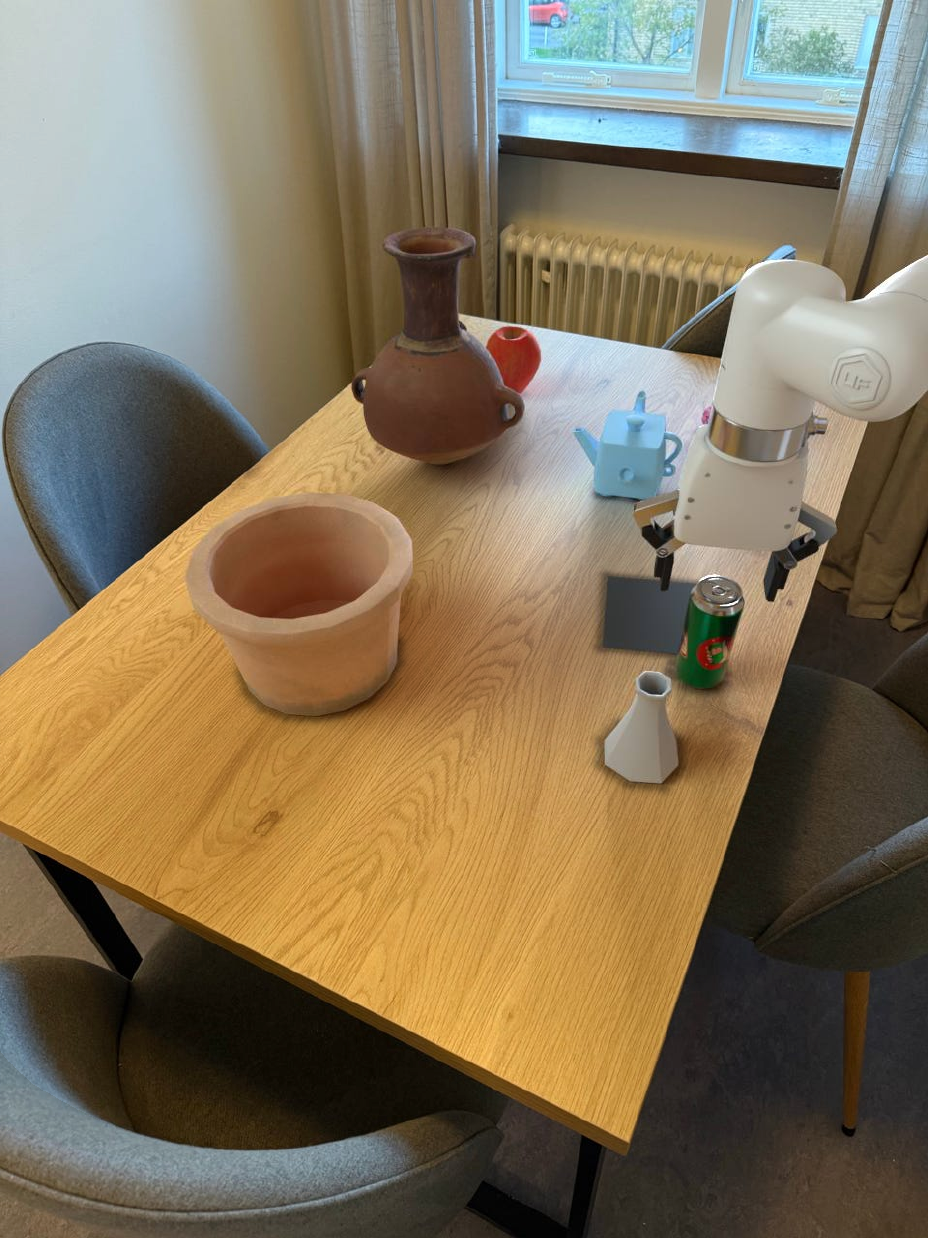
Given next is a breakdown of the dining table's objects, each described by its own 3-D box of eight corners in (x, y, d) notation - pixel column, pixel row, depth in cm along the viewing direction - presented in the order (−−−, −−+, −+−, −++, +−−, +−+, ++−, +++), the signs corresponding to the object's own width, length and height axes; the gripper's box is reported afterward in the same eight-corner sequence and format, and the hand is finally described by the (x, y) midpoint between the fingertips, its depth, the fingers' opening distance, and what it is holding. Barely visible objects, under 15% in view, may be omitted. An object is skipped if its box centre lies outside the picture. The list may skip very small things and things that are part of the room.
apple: (546, 386, 134) (549, 320, 126) (529, 411, 128) (530, 344, 121) (496, 378, 136) (496, 313, 129) (477, 402, 131) (476, 336, 123)
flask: (592, 770, 79) (601, 700, 72) (615, 716, 83) (626, 645, 77) (667, 796, 76) (684, 726, 69) (687, 739, 81) (704, 668, 74)
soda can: (681, 649, 90) (700, 566, 81) (728, 664, 88) (752, 581, 79) (667, 682, 86) (685, 599, 78) (716, 698, 85) (739, 615, 76)
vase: (537, 432, 124) (544, 218, 103) (508, 509, 110) (509, 279, 89) (379, 415, 129) (357, 208, 108) (332, 486, 115) (296, 264, 94)
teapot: (669, 529, 105) (681, 460, 99) (559, 515, 108) (563, 447, 101) (679, 454, 118) (690, 388, 111) (580, 443, 121) (585, 379, 114)
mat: (711, 586, 97) (711, 584, 97) (716, 659, 89) (716, 657, 89) (607, 577, 99) (607, 575, 99) (602, 647, 90) (602, 646, 90)
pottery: (353, 767, 80) (333, 663, 70) (176, 694, 87) (135, 590, 78) (456, 626, 94) (451, 522, 84) (295, 573, 101) (274, 473, 91)
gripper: (861, 411, 68) (805, 570, 80) (647, 396, 71) (624, 553, 82) (878, 461, 63) (815, 623, 75) (646, 443, 65) (621, 604, 77)
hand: (715, 586), depth 79 cm, fingers open, 9 cm apart
